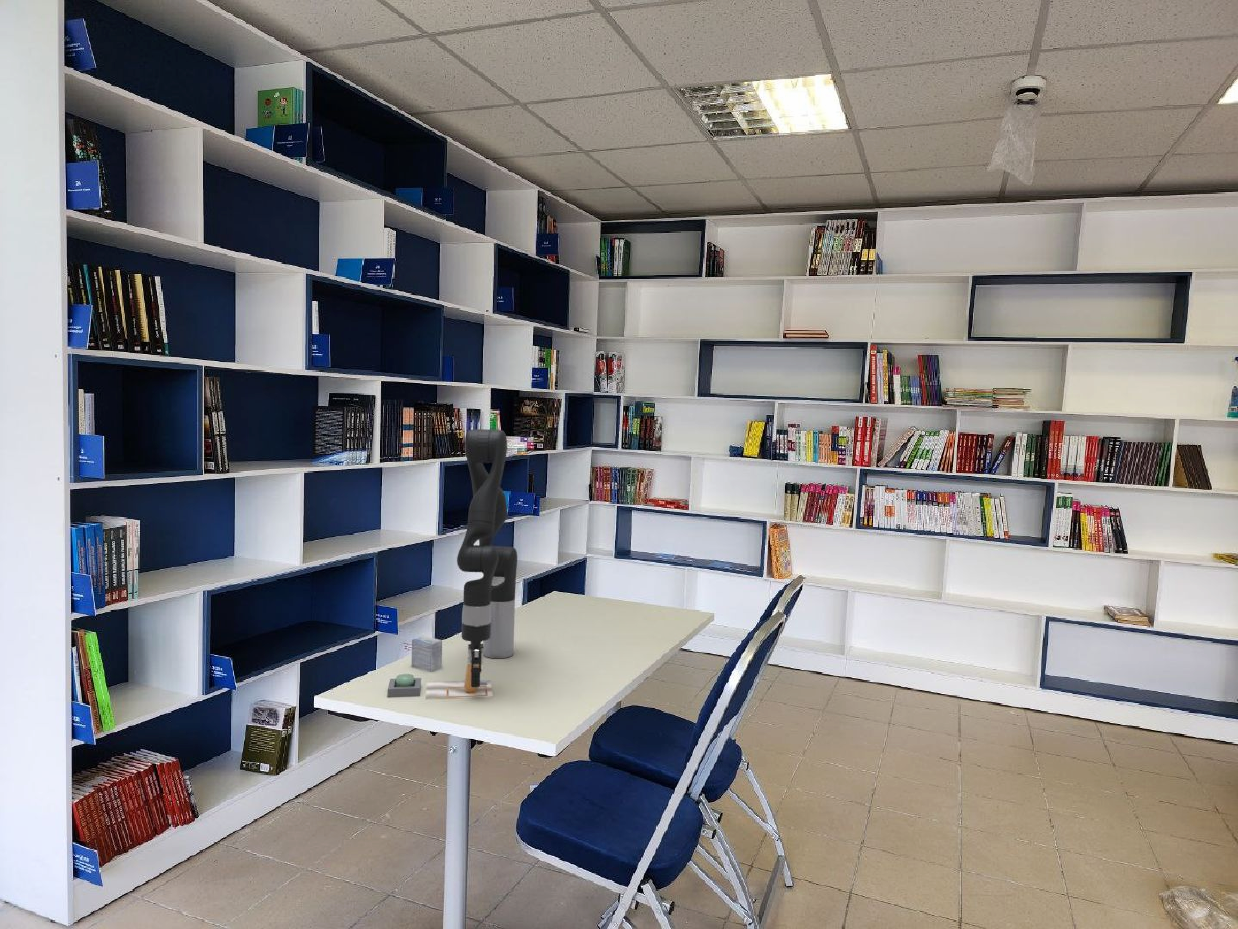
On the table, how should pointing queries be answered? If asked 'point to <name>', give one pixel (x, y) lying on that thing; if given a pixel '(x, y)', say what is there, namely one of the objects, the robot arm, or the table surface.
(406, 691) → the button housing
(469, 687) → the orange pill bottle
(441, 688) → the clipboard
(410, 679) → the button
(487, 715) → the table surface
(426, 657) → the medicine box
